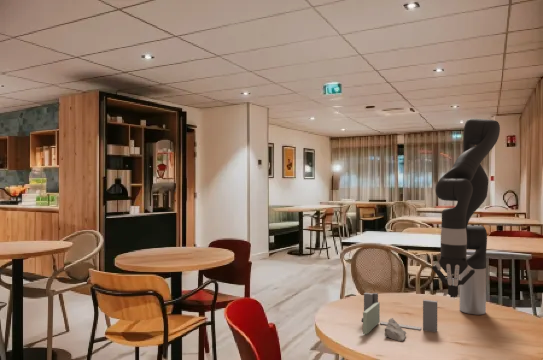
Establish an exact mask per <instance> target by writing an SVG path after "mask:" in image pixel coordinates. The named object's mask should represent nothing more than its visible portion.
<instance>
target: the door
mask: <svg viewBox="0 0 543 360" xmlns="http://www.w3.org/2000/svg"><path fill="white" fill-rule="evenodd" d="M380 313H381V311H380V302H379V301H378V302H376V303H374V304H373V305H372V306H370V307H369V308H368V309H367V310H365V311H364V310H363V312H362V318H361V323H362V334H364V335H367V334H369V333H370V332H371V331H372V330H373V329H374V328H376V326H377V325H379V324H380V323H381V321H380V319H381V318H380V317H381V315H380Z"/></svg>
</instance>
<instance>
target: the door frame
mask: <svg viewBox="0 0 543 360" xmlns="http://www.w3.org/2000/svg"><path fill="white" fill-rule="evenodd" d="M376 302H379V293H377V292H372V293H371V292H364V293H363V312H364V311H365V310H367V309H368V308H369V307H370V306H372V305H373V304H374V303H376ZM388 323H389V321H388V322H387V321H380V322H379V325H382V326H387V325H388ZM397 324H398V325H399V326H400V327H401V328H402V329H410V330H416V331H421V330H423V331H424V332H425V331H426V332H431V333H438V300H433V299H432V300H431V299H423V301H422V326H416V325H408V324H402V323H401V324H400V323H397Z"/></svg>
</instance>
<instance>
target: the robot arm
mask: <svg viewBox="0 0 543 360" xmlns="http://www.w3.org/2000/svg"><path fill="white" fill-rule="evenodd" d="M500 132H501V126H500V123H499V121H498V120H496V119H495V120H494V119H485V118H484V119H483V118H469V119H467V120H466V121H465V123H464V127H463V134H462V135H463V138H462V139H463V140H462V144H463V146H462V150H463V151H462V153H461V154H460V155H459V156H458V157H457V158H456V160H455V162H454V164H453V165H452V167H451V169H449V170H448V171H447V172H446V173H445V174H443V175H442V176H441V177H440V179H439V180H438V181H437V183H436V186H435V194H436V196H437V198H438V199H439V200H441V201H447V202H450V201H451V202H457V203H456V205H455V206H453V207H449V208H445V209H443V210H442V212H441V230H440V231H441V232H440V258H439V260H438V263H435V264H433V265H432V267H431V269H432V270H433V272H434V273H435V274H436V276H437V277H438V278H439V279H440V281H441V282H442V283H444V284H446V285H447V294H448V296H450V298H454V299H455V298H456V297H458V295H459V311H460V312H463V313H465V314H469V315H479V316H480V315H485V314H486V313H487V312H486V311H487V306H486V305H487V275H486V274H487V269H486V268H487V265H486V264H487V247H488V246H487V245H488V232H487V229H486V227H485V226H483V225H469V222H470V219H471V218H472V216H473V215H474V214H475V212H476V211H477V210H478V209H479V208H480V207H481V206H482V205H483V203H484V202H485V200H486V199H487V197H488V189H489V176H488V175H487V172H486V171H485V169H484V167H483V166H482V164H481V163H482V162H483V160H484V159H485V158H486V157H487V155H488V154H489V153H490V152H491V150H492V149H493V148H494V147H495V145H496V144H497V143H498V140H499V137H500ZM467 250H475V251H474V252H473V253H472V254H470V255H467V254H468V253H467ZM441 269H442V270H443V271H444V272H445V274H446V275H444V273H443V272H442V271H441ZM453 275H454V277H453Z"/></svg>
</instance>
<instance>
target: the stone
mask: <svg viewBox="0 0 543 360" xmlns="http://www.w3.org/2000/svg"><path fill="white" fill-rule="evenodd" d="M388 322H389V323H388V325H386V327H385V328H384V337H386V338H388V339H392V340H395V341H397V342H403V341H404V340H405V339H406V334H407V332H406V330H404V328H402V327H400V326H399V325H398V324H399V323H397V321H396V320H395V319H394V318H393V317H391V318H390V319H388Z"/></svg>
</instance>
